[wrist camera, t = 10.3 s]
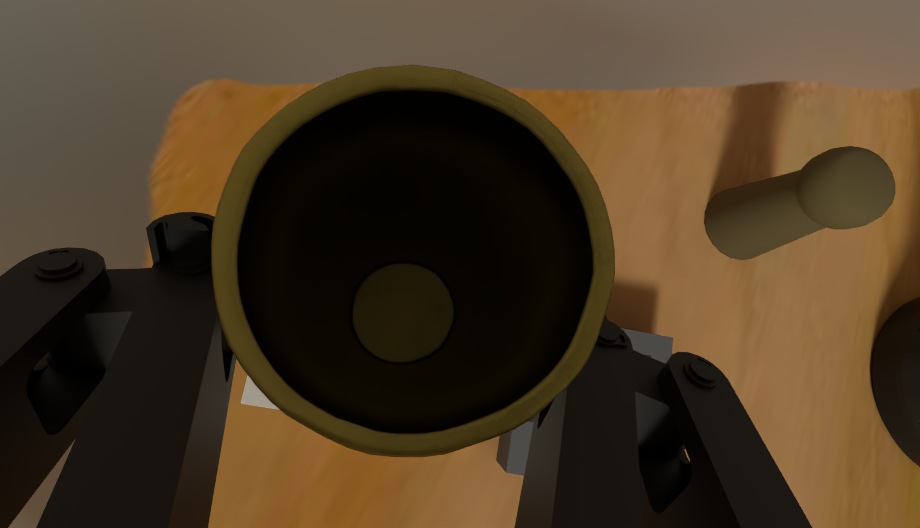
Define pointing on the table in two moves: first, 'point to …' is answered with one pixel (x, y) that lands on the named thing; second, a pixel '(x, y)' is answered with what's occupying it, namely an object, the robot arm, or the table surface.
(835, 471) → the table surface
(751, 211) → the olive brown pawn
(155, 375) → the robot arm
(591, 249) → the vase
